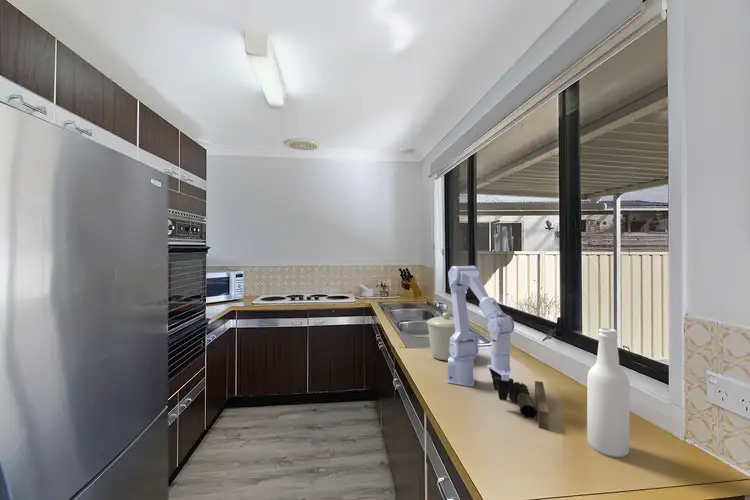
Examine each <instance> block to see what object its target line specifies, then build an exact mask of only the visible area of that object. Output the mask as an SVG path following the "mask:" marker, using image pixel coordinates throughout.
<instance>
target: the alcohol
mask: <svg viewBox="0 0 750 500" xmlns="http://www.w3.org/2000/svg"><path fill="white" fill-rule="evenodd" d="M618 333H619V331H618V330H617V329H614V328H608V327H607V328H606V327H600V328H599V329H598V346H597V356H596V361H595V364H594V365H593V366H591V368H590V369H588V373H587V377H586V378H587V381H586V382H587V385H586V386H587V388H586V389H587V392H586V393H587V396H586V397H587V400H586V401H587V402H586V405H587V406H586V409H587V410H586V412H587V416H586V424H587V425H586V440H587V443H588V444H589V446H590V447H591V448H592V449H593V450H594V451H595V452H597V453H600V454H602V455H604V456H608V457H611V458H624V457H626V456H627V455H628V454H629V453H630V411H631V410H630V404H631V403H630V400H631V399H630V380H629V377H628V375H627V374H626V373H625V372H624V370H623V369H622V368H621V365H620V356H619V347H618V346H619V345H618V337H619V336H618Z"/></svg>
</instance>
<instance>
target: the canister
mask: <svg viewBox="0 0 750 500" xmlns="http://www.w3.org/2000/svg"><path fill="white" fill-rule="evenodd" d="M426 324H427V329H428V338H429V339H428V340H429V348H430V353H431V355H432V357H434V358H435V359H437V360H440V361H447V362H448V359H449V357H452V356H451V354H450V352H449V346H450V337H451V336H452V335H454V333H455V324H454V316H453V317H451V315H450V313H449V312H442V314H441V316H435V317H431V318H430V319H428V320H426ZM460 341H464V340H460Z"/></svg>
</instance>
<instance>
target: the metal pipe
mask: <svg viewBox="0 0 750 500" xmlns="http://www.w3.org/2000/svg"><path fill="white" fill-rule="evenodd" d="M530 394H531V393H530V392H529V388H528V386H527V385H526V384H525V383H523V382H521V383H520V382H519V381H515V382H513V384H512V385H511V387H510V390H509V393H508V399H509V400H510V402H512V403H514V404H518V407H519V412H520V415H522V417H524V418H525V419H533V420H534V419H535V418H537V414H538V413H537V409H536V405H535V404H534V401H533V400H532V398H531V395H530Z"/></svg>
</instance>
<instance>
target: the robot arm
mask: <svg viewBox="0 0 750 500" xmlns="http://www.w3.org/2000/svg"><path fill="white" fill-rule="evenodd" d="M447 273H448V284H449V288H450V294H451V304H452V315H453V318H454V324H455V333H454V335H452V336H451V337H450V346H449V352H450V354H451V356H452V357H449V359H448V361H447V381H446V383H448V384H452V385H453V384H454V385H460V386H466V387H467V386H468V387H474V386H475V385H474V384H475V383H476V378H475V377H474V360H475V359H476V356H477V355H478V354H479V345H478V343H477V340H476V339H477V338H476V336H475V335H474V334H472V333H471V332H470V325H469V315H468V307H467V298H466V290H467V288H470V290H471V292H473V294H474V295H475V296H476V298H477V299H478V301H479V304H478V307H479V309H480V311H481V312H482V314H483V315H484V318H486V321H487V322H488V323H486V324H487V329H488V331H489V337H490V339H491V345H490V346H491V349H490V350H491V354H490V355H491V356H490V357H491V358H490V359H491V360H490V361H491V363H490V364H487V367H486V368H488V370H489V372H490V375H491V379H492V384H493V389H494V391H497V394H498V399H499V400H500V401H507V399H508V398H509V390H510V387H511V385H512V384H513V383H515V382H514V381H515V380H514V379H513V378H510V372H511V362H510V361H511V333H513V332H514V330H515V323H514V320H513V318H512V317H511V316H510V315H509V314H506V313H505V312H503V309H501V307H500V305H499V304H498V302H497V300H496V299H495V298H494V297H490V296H489V295H488V293H487V291H486V289H485V287H484V285H483V283H482V281H481V279H480V277H481V275H480V274H481V273H480V272H479V269H478V268H477V267H476V266H475V265H464V266H463V265H460V266H459V265H458V266H457V265H453V266H451V267H450V269H449V270H448V272H447ZM460 340H463V341H460Z"/></svg>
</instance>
